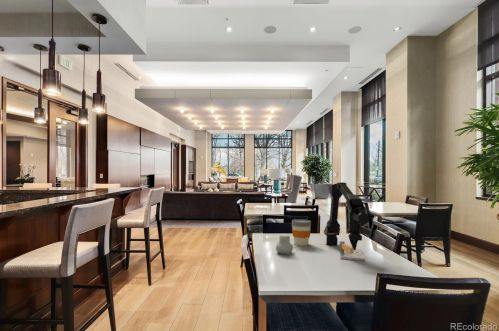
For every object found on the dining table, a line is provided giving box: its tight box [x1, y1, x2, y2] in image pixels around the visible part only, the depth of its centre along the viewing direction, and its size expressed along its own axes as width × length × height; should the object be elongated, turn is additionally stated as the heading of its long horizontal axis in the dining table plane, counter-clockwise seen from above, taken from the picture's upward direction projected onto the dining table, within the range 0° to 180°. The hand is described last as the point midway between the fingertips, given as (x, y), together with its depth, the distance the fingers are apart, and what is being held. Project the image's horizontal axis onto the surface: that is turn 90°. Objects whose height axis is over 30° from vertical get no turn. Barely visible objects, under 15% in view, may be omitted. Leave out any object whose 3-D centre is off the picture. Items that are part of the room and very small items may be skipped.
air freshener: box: [275, 233, 294, 255], centre depth 163 cm, size 11×8×10 cm
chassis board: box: [339, 247, 366, 262], centre depth 160 cm, size 12×20×3 cm, turn 163°
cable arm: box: [339, 240, 354, 254], centre depth 157 cm, size 13×3×4 cm, turn 7°
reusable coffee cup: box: [291, 218, 312, 247], centre depth 184 cm, size 13×13×15 cm
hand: (354, 250), depth 152 cm, fingers closed
